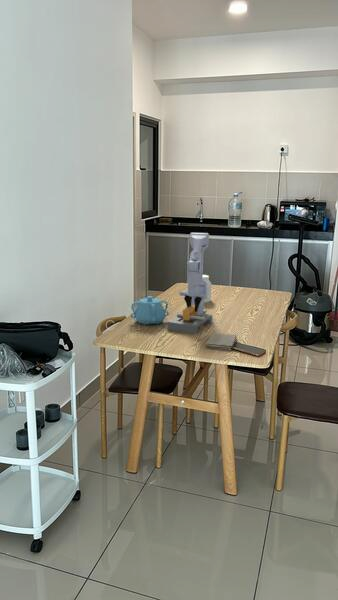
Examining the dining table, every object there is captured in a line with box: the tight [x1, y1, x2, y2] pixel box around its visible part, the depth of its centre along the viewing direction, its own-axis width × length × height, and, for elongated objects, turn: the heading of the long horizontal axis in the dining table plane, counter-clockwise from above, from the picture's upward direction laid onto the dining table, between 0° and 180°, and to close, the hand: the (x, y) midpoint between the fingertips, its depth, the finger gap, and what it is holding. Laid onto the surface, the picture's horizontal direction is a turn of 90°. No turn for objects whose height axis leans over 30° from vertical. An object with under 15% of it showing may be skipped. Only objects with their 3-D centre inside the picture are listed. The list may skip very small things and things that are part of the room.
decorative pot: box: [130, 295, 170, 326], centre depth 244 cm, size 20×20×14 cm
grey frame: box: [166, 312, 213, 335], centre depth 240 cm, size 15×22×6 cm
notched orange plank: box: [182, 305, 198, 322], centre depth 238 cm, size 12×3×5 cm, turn 154°
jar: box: [201, 274, 212, 303], centre depth 289 cm, size 12×10×15 cm
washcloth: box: [205, 332, 237, 352], centre depth 215 cm, size 12×18×3 cm, turn 166°
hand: (192, 310), depth 241 cm, fingers closed on notched orange plank, 3 cm apart
